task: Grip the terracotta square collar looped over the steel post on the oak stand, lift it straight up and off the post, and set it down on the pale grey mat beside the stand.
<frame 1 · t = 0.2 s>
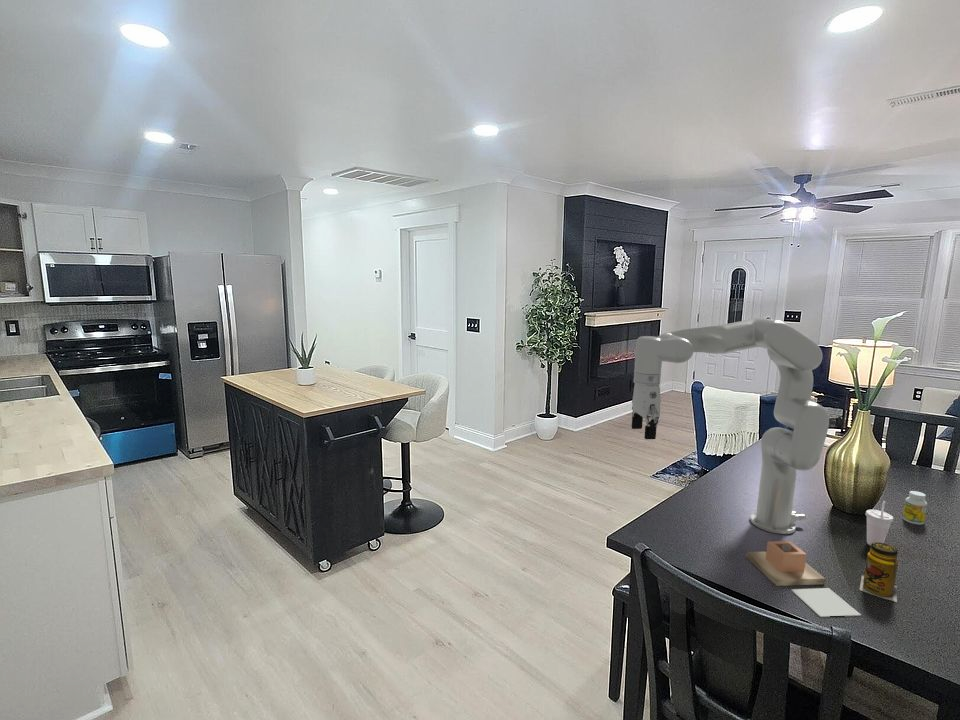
hand: (643, 433, 150), 31 cm above the table, tool pointing down, fingers open, 9 cm apart
collar: (784, 564, 134), point 2 cm above the table, touching stand
smoothie: (874, 545, 148), on the table
supplement bottle: (912, 521, 162), on the table
mat: (824, 602, 121), on the table
stand: (783, 570, 134), on the table
condiment: (878, 589, 127), on the table
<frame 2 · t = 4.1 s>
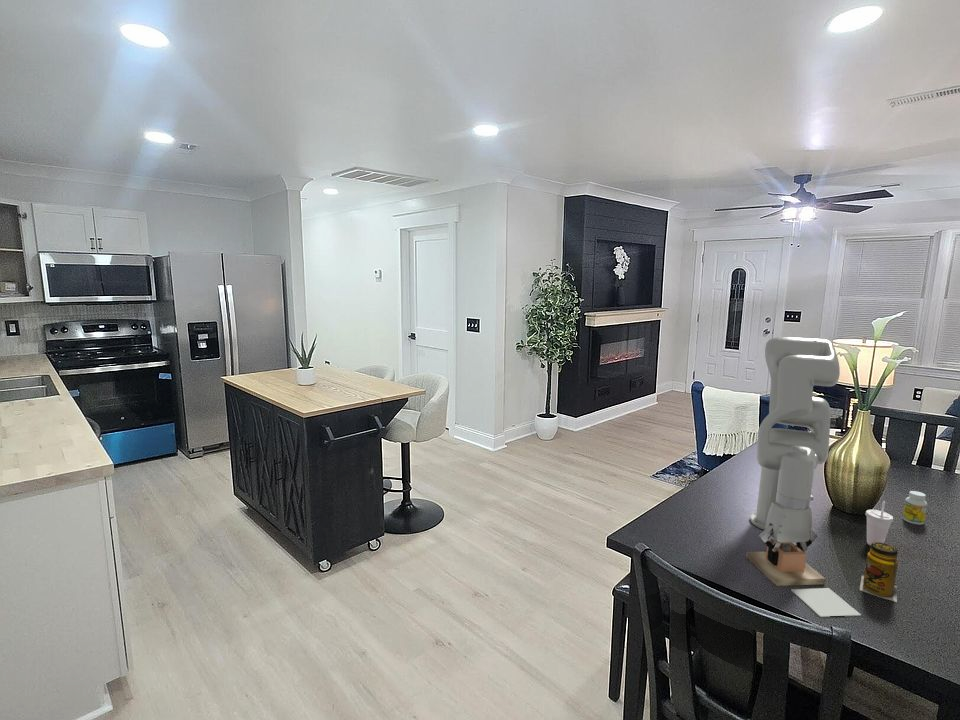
hand: (784, 561, 134), 2 cm above the table, tool pointing down, fingers closed on collar, 6 cm apart
collar: (784, 564, 134), point 2 cm above the table, touching gripper, stand
everything else where it was.
when the fingers open (3 cm above the table, at t = 11.1 s): collar drops 1 cm, resting on mat.
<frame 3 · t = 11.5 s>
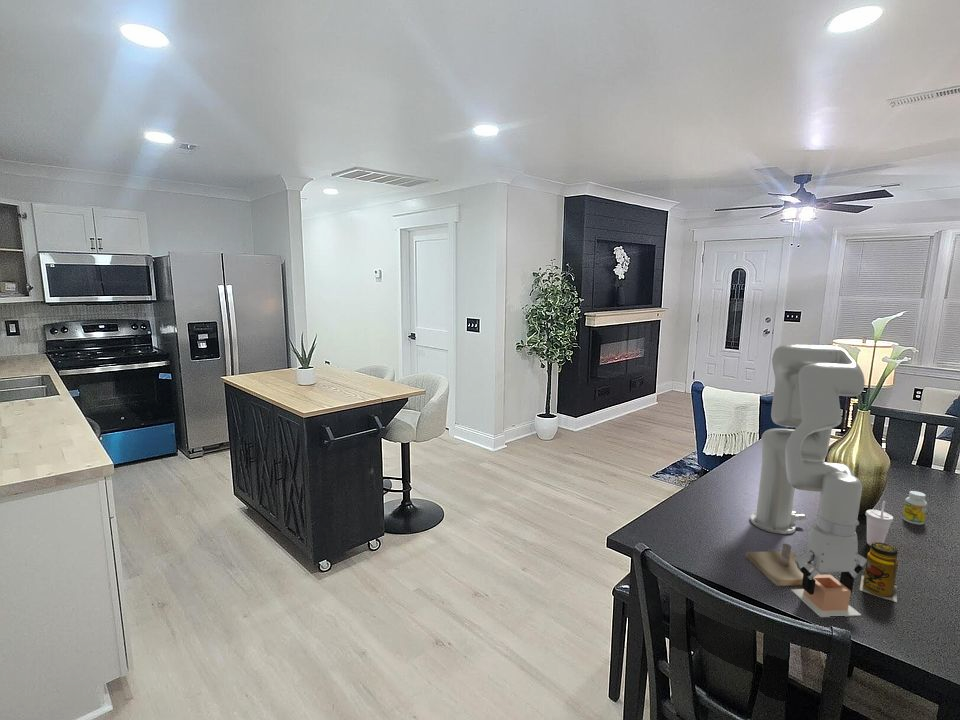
hand: (826, 590, 120), 3 cm above the table, tool pointing down, fingers open, 9 cm apart
collar: (825, 601, 121), resting on mat
everything else where it was.
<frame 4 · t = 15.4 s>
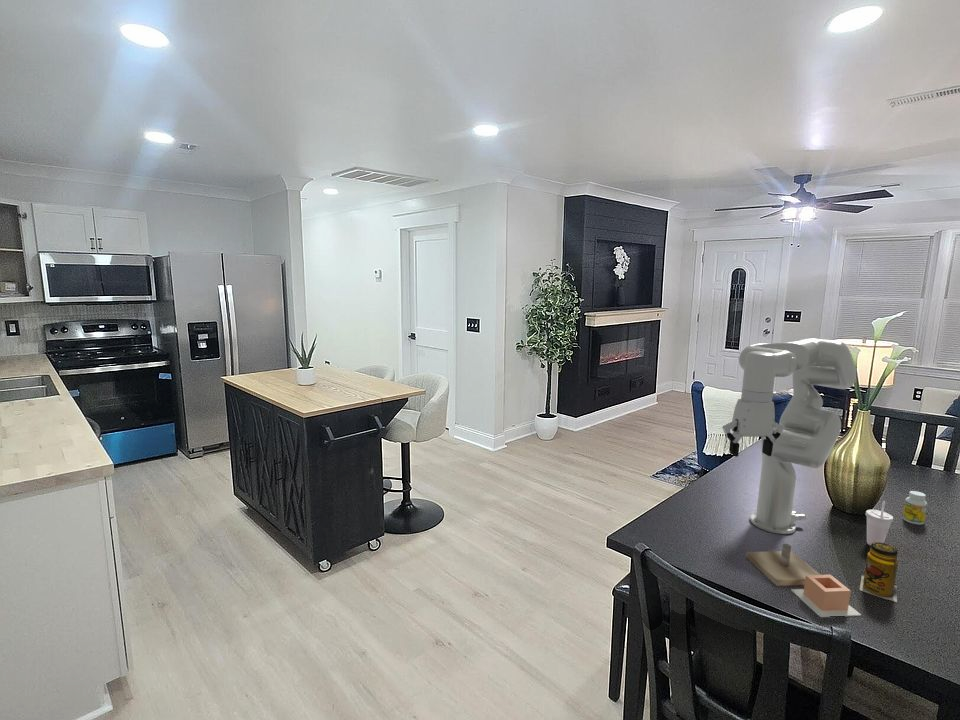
hand: (750, 454, 141), 28 cm above the table, tool pointing down, fingers open, 9 cm apart
nothing on the table moved.
at the end: collar inside the target area on the mat (0.1 cm from its centre), point 0.3 cm above the mat's base; collar tilted 0°; collar touching mat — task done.
